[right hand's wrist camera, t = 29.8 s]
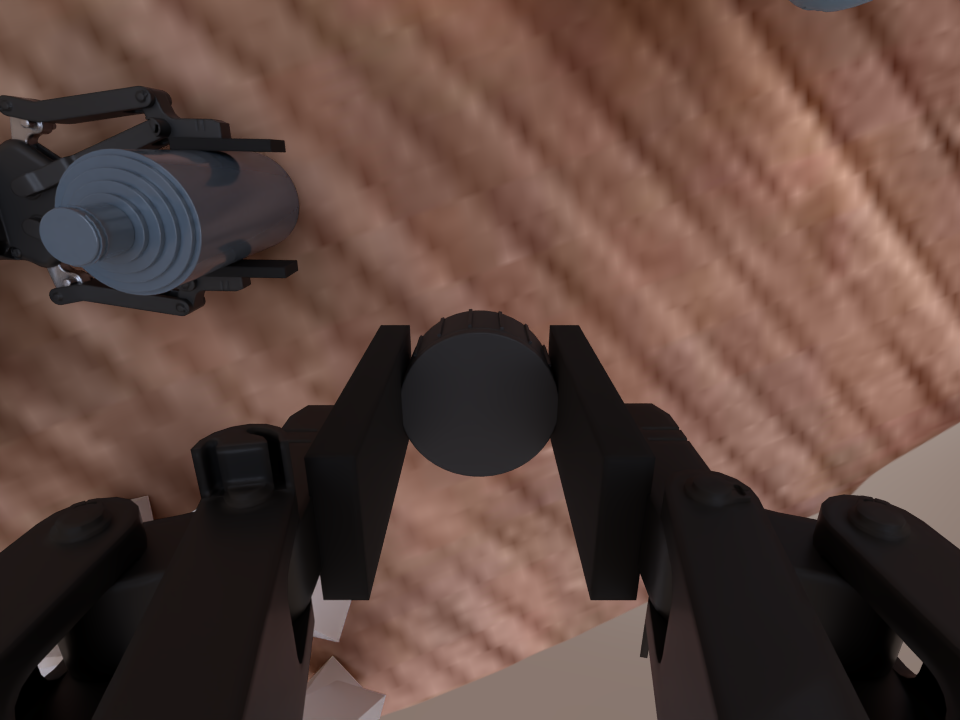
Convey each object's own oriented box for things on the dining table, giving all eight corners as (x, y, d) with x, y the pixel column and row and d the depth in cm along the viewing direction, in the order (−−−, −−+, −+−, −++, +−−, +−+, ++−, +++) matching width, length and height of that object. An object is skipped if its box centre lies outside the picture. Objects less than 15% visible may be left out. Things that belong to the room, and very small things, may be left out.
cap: (566, 419, 15) (578, 454, 13) (435, 455, 15) (430, 495, 13) (528, 289, 13) (535, 309, 12) (386, 333, 14) (373, 359, 12)
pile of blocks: (480, 572, 63) (507, 749, 28) (309, 788, 60) (100, 1292, 25) (261, 384, 65) (35, 334, 30) (81, 582, 61) (-410, 784, 27)
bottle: (254, 266, 45) (84, 348, 26) (185, 192, 43) (-56, 222, 24) (318, 209, 43) (188, 252, 24) (250, 130, 41) (48, 107, 22)
